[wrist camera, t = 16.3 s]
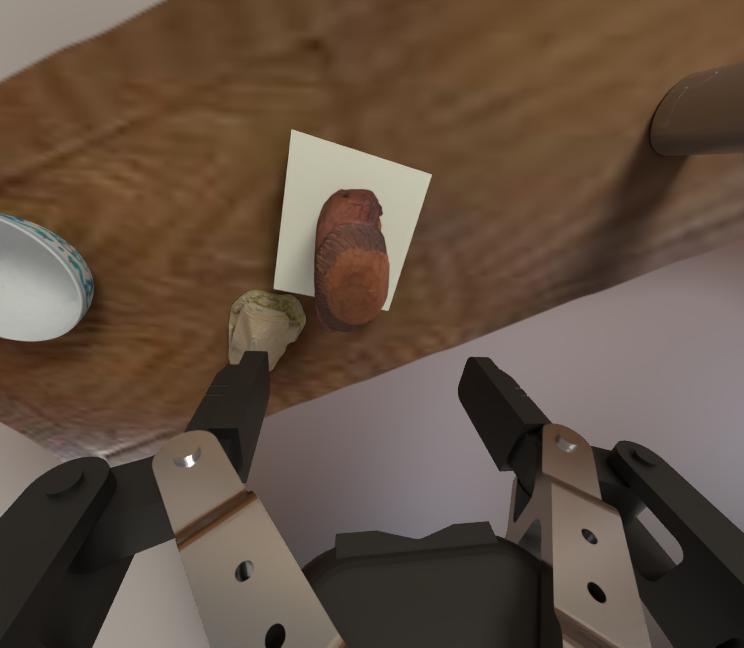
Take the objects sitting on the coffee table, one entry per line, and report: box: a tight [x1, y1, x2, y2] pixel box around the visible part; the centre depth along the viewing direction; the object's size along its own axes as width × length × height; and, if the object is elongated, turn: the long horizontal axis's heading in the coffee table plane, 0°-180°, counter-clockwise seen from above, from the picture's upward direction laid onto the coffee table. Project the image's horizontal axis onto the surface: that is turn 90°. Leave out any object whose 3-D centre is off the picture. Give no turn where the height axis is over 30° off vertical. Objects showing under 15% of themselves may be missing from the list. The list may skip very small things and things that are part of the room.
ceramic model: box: [228, 290, 306, 372], centre depth 41 cm, size 14×11×10 cm
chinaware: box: [0, 213, 94, 341], centre depth 34 cm, size 15×15×8 cm
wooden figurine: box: [314, 189, 390, 332], centre depth 27 cm, size 12×6×18 cm, turn 174°
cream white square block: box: [274, 130, 432, 311], centre depth 37 cm, size 16×18×6 cm
